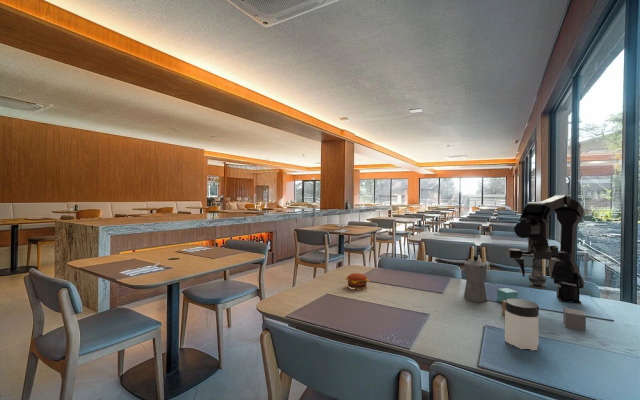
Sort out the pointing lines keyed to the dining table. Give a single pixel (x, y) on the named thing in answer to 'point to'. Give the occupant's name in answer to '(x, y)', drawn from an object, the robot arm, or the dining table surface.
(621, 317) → the dining table surface
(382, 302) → the dining table surface
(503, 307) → the walnut block
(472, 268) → the coffeepot
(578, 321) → the grey cube
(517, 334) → the jar
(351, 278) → the hamburger
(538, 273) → the salt shaker
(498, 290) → the teal block
